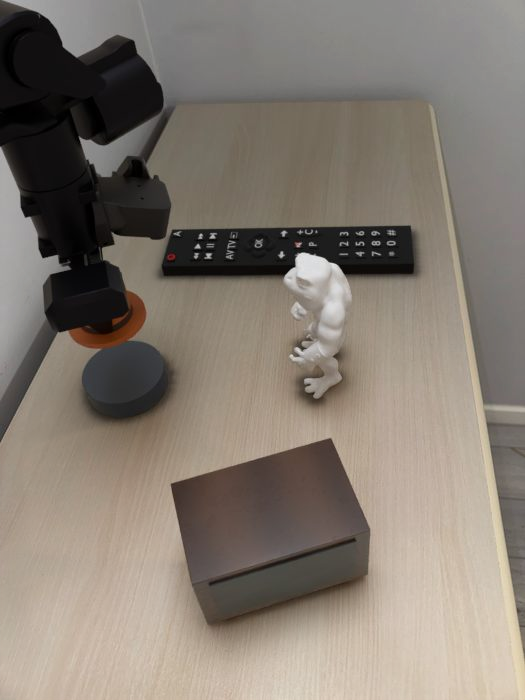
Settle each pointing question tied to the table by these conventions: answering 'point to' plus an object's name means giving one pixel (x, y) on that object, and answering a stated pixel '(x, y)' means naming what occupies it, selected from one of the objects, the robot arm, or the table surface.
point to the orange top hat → (114, 327)
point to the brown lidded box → (271, 530)
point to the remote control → (288, 250)
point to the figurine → (320, 316)
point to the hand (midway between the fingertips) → (104, 312)
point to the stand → (125, 379)
